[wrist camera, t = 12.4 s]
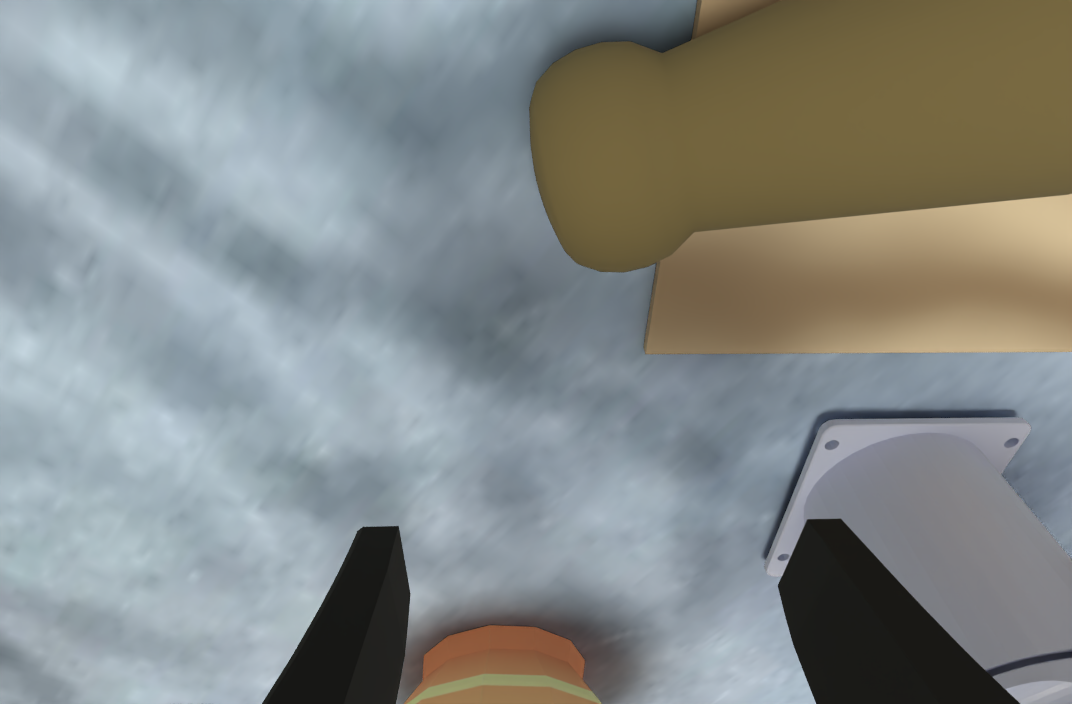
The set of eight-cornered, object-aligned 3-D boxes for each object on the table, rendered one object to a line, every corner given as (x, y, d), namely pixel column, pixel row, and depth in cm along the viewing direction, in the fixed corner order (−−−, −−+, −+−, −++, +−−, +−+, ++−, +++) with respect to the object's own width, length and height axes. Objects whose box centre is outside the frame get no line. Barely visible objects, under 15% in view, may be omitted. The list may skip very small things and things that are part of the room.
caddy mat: (1090, 344, 22) (1101, 353, 22) (643, 347, 22) (646, 355, 21) (1636, -450, 11) (1676, -463, 11) (775, -499, 11) (785, -514, 10)
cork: (994, 198, 16) (582, 287, 19) (968, -51, 15) (536, 79, 18) (1181, 189, 10) (550, 321, 13) (1159, -212, 9) (478, 13, 12)
